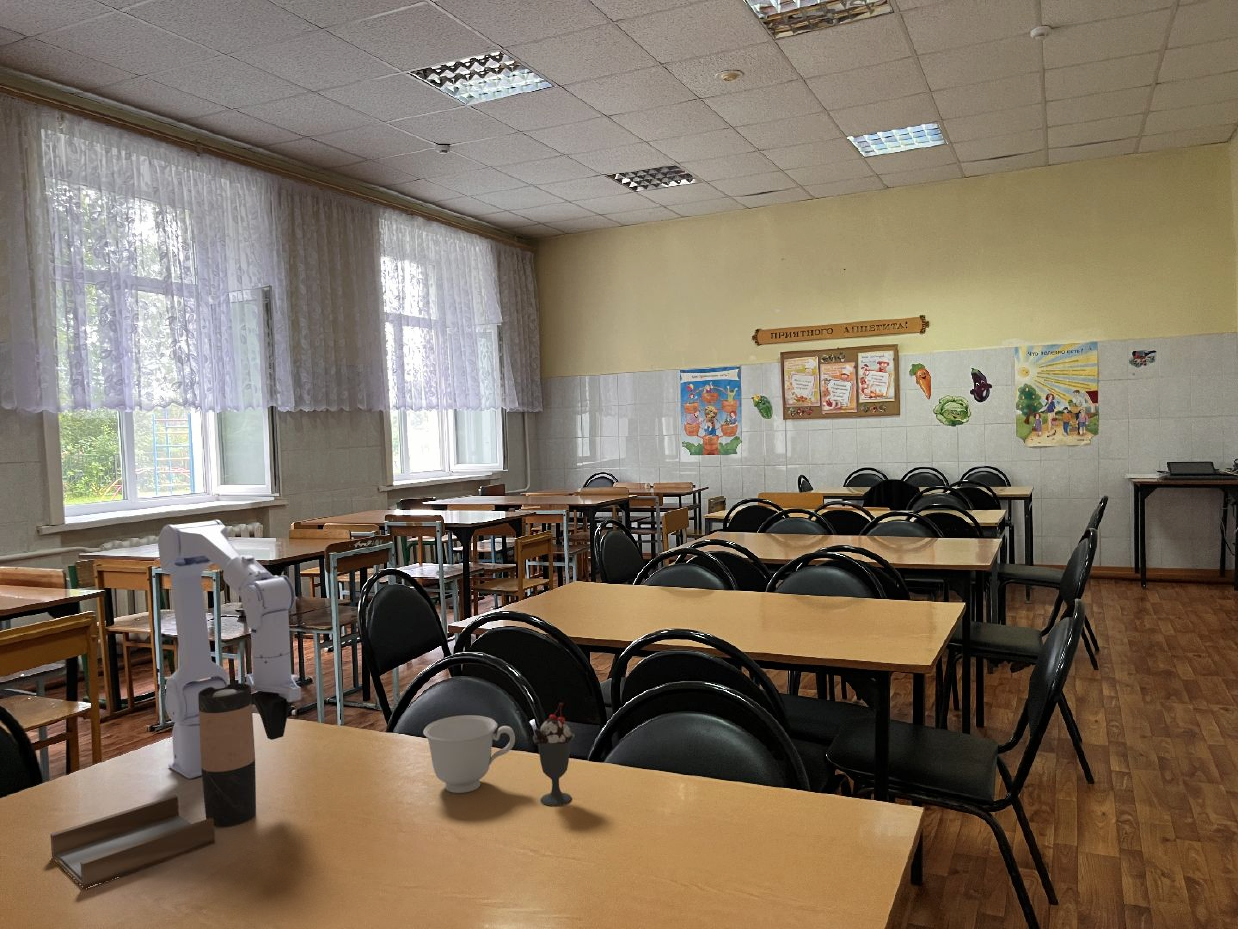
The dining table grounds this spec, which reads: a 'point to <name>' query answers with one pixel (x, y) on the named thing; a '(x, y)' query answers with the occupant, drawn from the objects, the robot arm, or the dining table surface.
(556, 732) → the sundae
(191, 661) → the robot arm
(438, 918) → the dining table surface
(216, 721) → the travel mug
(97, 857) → the u rest
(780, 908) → the dining table surface
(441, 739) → the teacup
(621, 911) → the dining table surface
